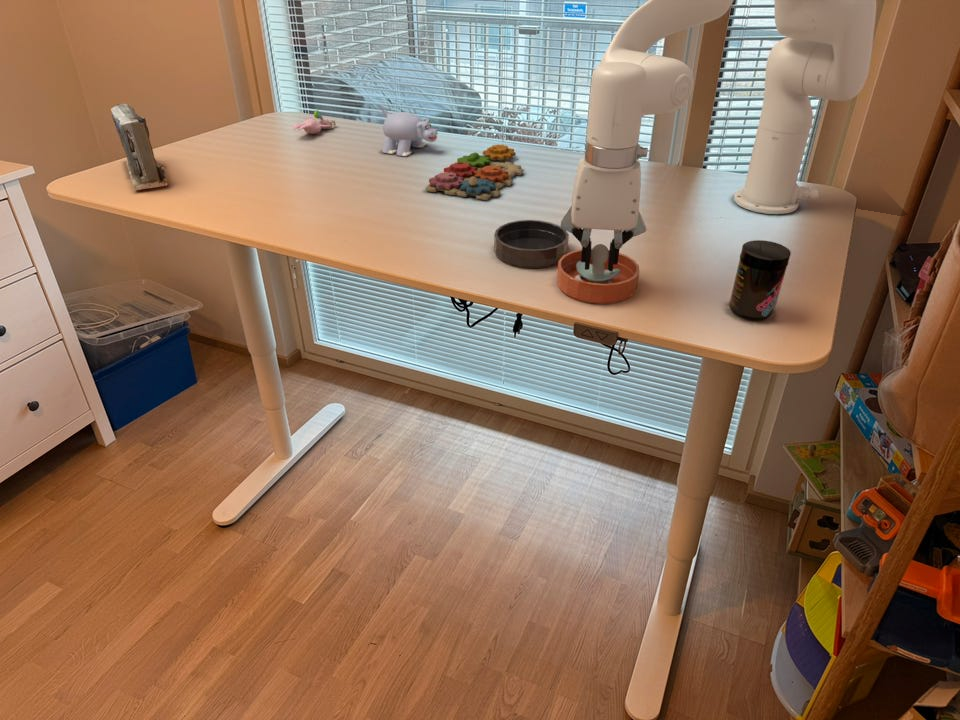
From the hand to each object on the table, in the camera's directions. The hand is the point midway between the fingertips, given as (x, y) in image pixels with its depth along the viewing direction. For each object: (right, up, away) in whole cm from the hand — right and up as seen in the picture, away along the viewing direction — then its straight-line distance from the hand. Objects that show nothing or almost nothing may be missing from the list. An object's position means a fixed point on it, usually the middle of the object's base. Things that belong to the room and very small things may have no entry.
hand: (598, 265), depth 112 cm
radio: (-96, +26, +45) cm, 109 cm away
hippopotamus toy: (-37, +37, +61) cm, 80 cm away
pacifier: (0, -3, +2) cm, 3 cm away
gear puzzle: (-18, +27, +46) cm, 56 cm away
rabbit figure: (-63, +45, +72) cm, 106 cm away
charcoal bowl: (-10, +4, +12) cm, 16 cm away
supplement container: (+23, -8, -5) cm, 24 cm away
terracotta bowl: (0, -3, +2) cm, 4 cm away
